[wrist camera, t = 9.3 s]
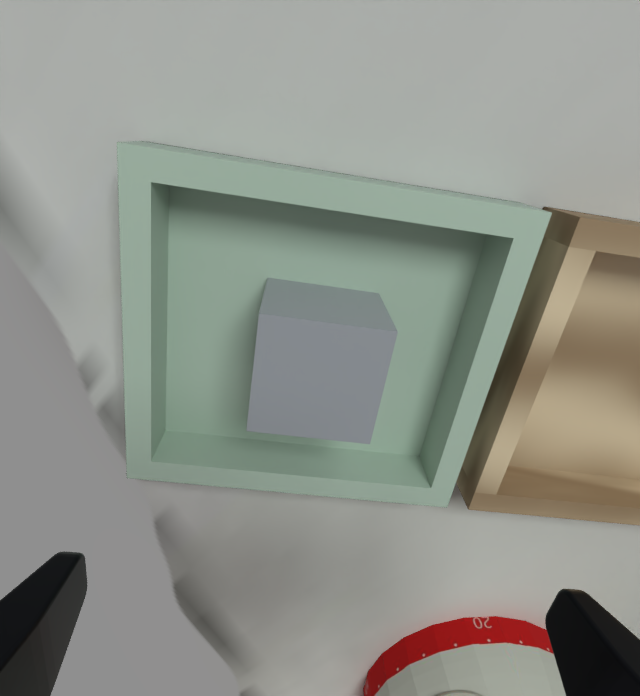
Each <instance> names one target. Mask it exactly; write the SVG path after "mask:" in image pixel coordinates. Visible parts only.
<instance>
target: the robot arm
mask: <svg viewBox="0 0 640 696" xmlns="http://www.w3.org/2000/svg"><path fill="white" fill-rule="evenodd" d="M86 591H87V576H86V564H85V557H84V555H83V554H82V553H76V552H59V553H57V554H55V555H54V556H53V557H52V558H51V559H49V560H48V561H47V562H46V563H44V564H43V565H42V566H41V567H40V568H39V569H37V570H36V571H35V572H34V573H32V574H31V575H30V576H29V577H28V578H27V579H25V580H24V581H23V582H22V583H21V584H20V585H18V586H17V587H16V588H15V589H13V590H12V591H11V592H10V593H9V594H7V595H6V596H5V597H4V598H3V599H1V600H0V696H50V695H51V692H52V690H53V687H54V684H55V681H56V679H57V676H58V673H59V670H60V667H61V664H62V662H63V659H64V656H65V653H66V650H67V647H68V645H69V642H70V639H71V636H72V633H73V630H74V627H75V624H76V622H77V619H78V616H79V613H80V610H81V607H82V605H83V602H84V599H85V595H86ZM546 629H547V633H548V636H549V640H550V643H551V646H552V650H553V653H554V657H555V660H556V663H557V667H558V670H559V674H560V677H561V680H562V684H563V687H564V690H565V694H566V696H640V640H639V639H638V638H637V637H636V636H635V635H634V634H633V633H631V632H630V631H629V630H628V629H627V628H626V627H625V626H624V625H622V624H621V623H620V622H619V621H618V620H617V619H616V618H614V617H613V616H612V615H611V614H610V613H609V612H608V611H606V610H605V609H604V608H603V607H602V606H601V605H600V604H599V603H597V602H596V601H595V600H594V599H593V598H592V597H591V596H589V595H588V594H587V593H585V592H584V591H581V590H575V589H562V590H560V591H559V592H558V594H557V596H556V598H555V600H554V601H553V603H552V605H551V607H550V609H549V610H548V612H547V615H546Z"/></svg>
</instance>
